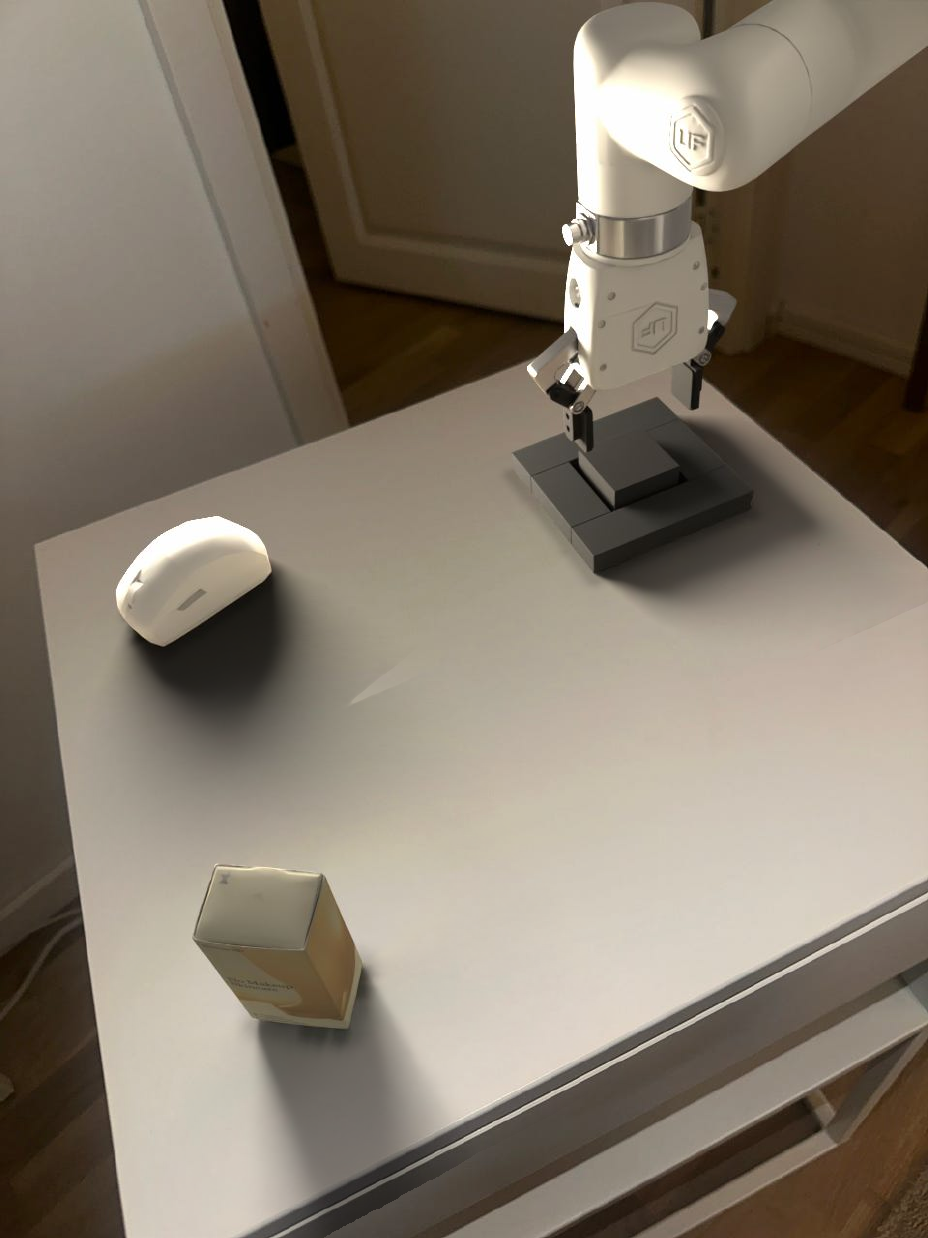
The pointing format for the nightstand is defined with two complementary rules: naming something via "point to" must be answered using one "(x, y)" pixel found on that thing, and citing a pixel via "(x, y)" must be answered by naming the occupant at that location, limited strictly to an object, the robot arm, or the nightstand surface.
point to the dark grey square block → (628, 468)
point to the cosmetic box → (280, 944)
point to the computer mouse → (190, 577)
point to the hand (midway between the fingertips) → (633, 421)
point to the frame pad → (643, 524)
